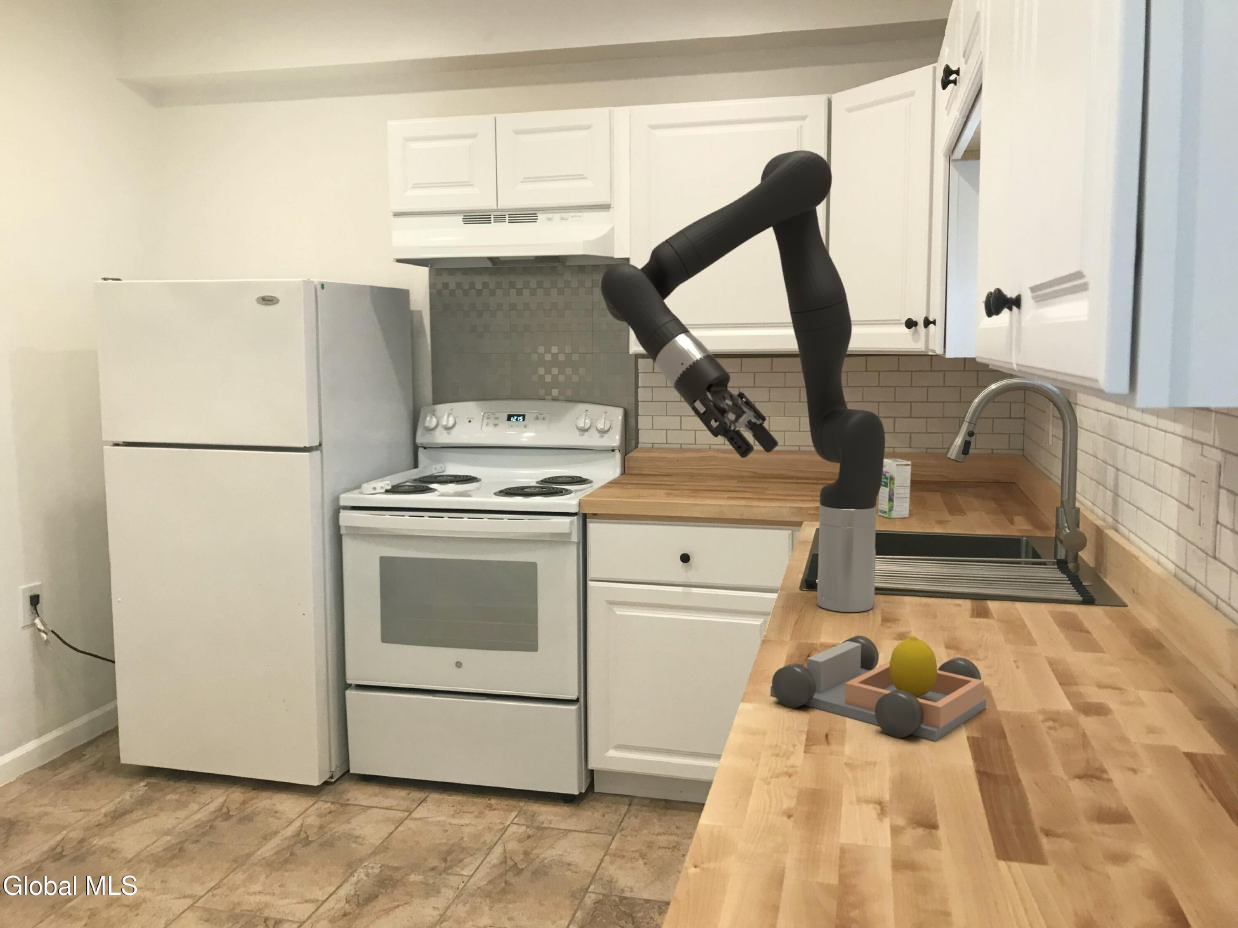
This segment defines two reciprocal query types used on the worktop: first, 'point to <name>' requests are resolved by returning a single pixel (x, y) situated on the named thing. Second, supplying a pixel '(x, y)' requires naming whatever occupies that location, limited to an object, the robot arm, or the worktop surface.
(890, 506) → the syrup box
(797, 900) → the worktop surface
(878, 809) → the worktop surface
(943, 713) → the chassis
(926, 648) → the lemon
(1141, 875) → the worktop surface
